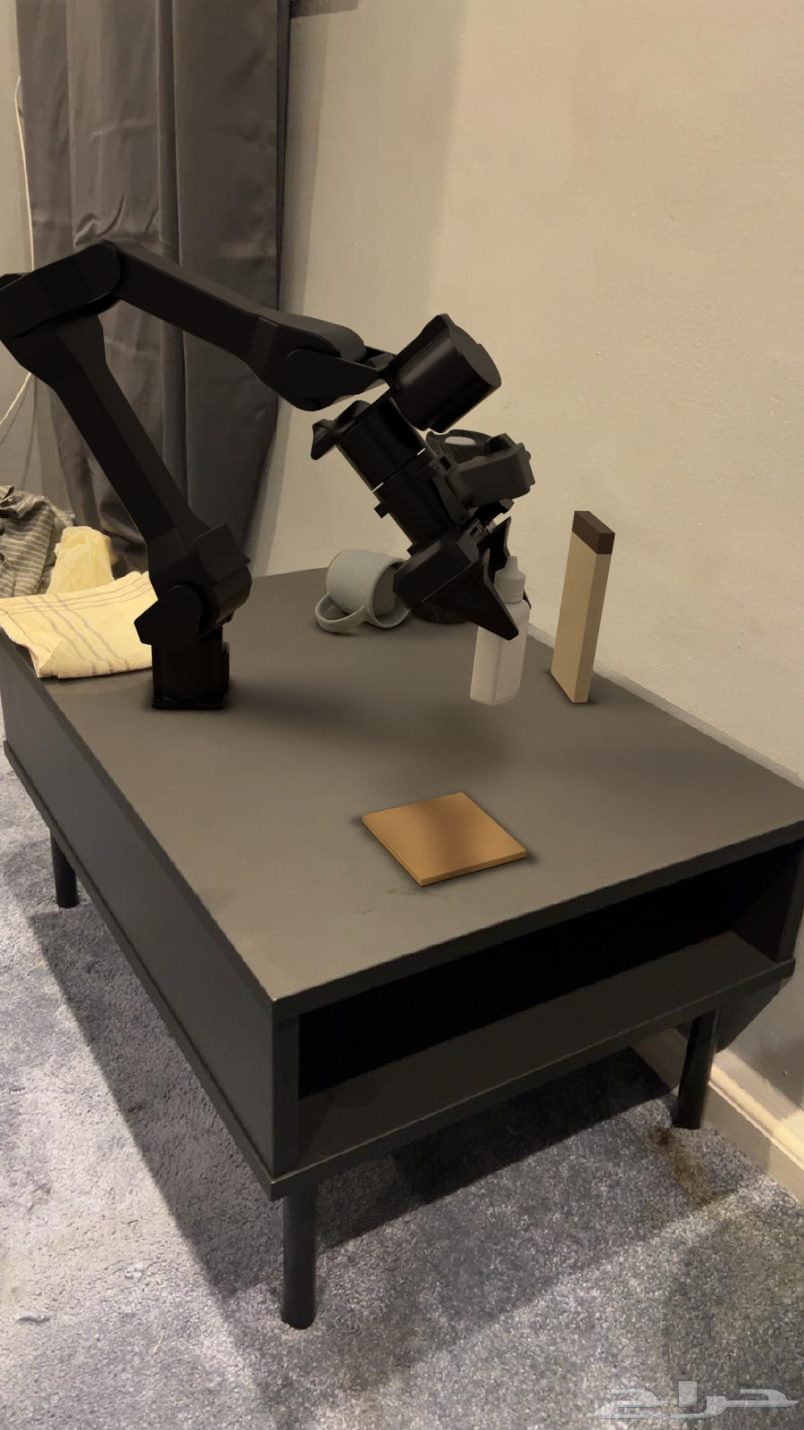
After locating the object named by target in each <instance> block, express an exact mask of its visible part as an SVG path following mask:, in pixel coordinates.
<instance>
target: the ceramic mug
mask: <svg viewBox="0 0 804 1430" xmlns="http://www.w3.org/2000/svg"><path fill="white" fill-rule="evenodd" d="M406 560H407V559H405V558H401V557H397V556H391V555H388V554H383V553H378V552H375V551H371V550H366V549H363V548H348V549H344V550H342V551H340V552H339V553H337V554H336V555H335V556H334V557H333V558H332V559H331V560H330V562H329V565H328V566H327V568H326V570H325V571H326V572H325V575H324V581H323V584H324V592H325V595H324V596H323V597H322V598H321V599H319V601H318V602H317V604H316V605H315V609H314V610H315V611H314V612H315V617H316V620H317V622H318V624H319V626H320V627H321V628H322V629H323V630H325V631H327V632H331V633H342V632H347V631H351V630H352V629H354V628H356V627H358V626H359V625H361V624H362V623H364V622H367V623H369V624H371V625H374V626H375V627H378V628H382V629H390V628H393V627H396V626H397V625H399V624H400V623H401V622H403V621H404V620H405V618H406V617H407V616H408V615H409V613H410V611H411V609H409V610H407V608H406V607H405V606H404V605H403V603H402V602H401V601H400V600H399V598H398V597H397V596H396V595H395V593H394V592H393V591H392V590H393V577H394V573H395V572H396V571H397V570H398V569H399V568H400V567H401V566H402V565H403V563H404V562H405V561H406ZM332 606H333V607H334V608H336V609H337V610H339V611H341V612H343V613H345V614H348V615H347V616H345V617H343V618H340V619H333V620H332V619H331V620H329V619H326V617H324V616H323V615H324V614H325V612H326V611H327V610H328V609H329V608H330V607H332Z"/></svg>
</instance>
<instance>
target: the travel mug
mask: <svg viewBox="0 0 804 1430" xmlns="http://www.w3.org/2000/svg"><path fill="white" fill-rule="evenodd" d="M491 437H493V435H489V434H487V433H484V432H480V431H476V430H471V429H470V430H469V429H462V428H460V429H459V428H452V429H450V430H448V432H445V433H440V434H438V433H435V432H434V431H433V430H429V431H427V433H426V434H425V439H424V440H425V441H426V442H427V444H428V446H427V447H429V446H430V448H431V449H432V450H433V452H434V453H435V454H436V455H437V456H438V455H439V454H440V453H442V452H444V453H445V454H447V453H448V454H450V455H451V456H452V458H453V459H454V460H455V462H456V463H457V464H461V463H464V462H467V461H470V460H472V459H474V458H475V457H477V456H479V457H481V456H483V451H484V444H485V442H486V441H487V440H488V439H489V438H491ZM427 447H425V448H424V450H425V449H426V448H427ZM412 611H413V613H414V614H415V615H416V616H418V617H419V618H421V619H424V620H426V621H429V622H434V623H440V624H441V623H443V624H458V623H463V622H468V620H466V619H464V618H462V617H459V616H457V615H455V614H453V613H450V612H448V611H446V610H444V609H441V608H439V607H437V606H434V605H432V604H429V605H426V604H424V603H423V602H422V601H421V602H420V603H418V604H417V605H416V606H414V607H413V608H412Z"/></svg>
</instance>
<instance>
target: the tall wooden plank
mask: <svg viewBox="0 0 804 1430" xmlns="http://www.w3.org/2000/svg"><path fill="white" fill-rule="evenodd" d="M572 518H573V519H572V524H571V525H572V526H571V531H570V532H571V533H570V538H569V546H568V552H567V559H566V565H565V572H564V580H563V587H562V593H561V600H560V606H559V615H558V621H557V628H556V635H555V640H554V648H553V654H552V660H551V661H552V662H551V667H550V673H551V675H552V676H553V678H554V679H555V680H556V682H557V683H558V684H559V686H560V688H562V690H563V691H564V692H565V694H566V695H567V698H568V699H570V701H571V703H573V704H575V703H578V704H579V703H580V704H581V703H588V699H589V695H590V688H591V683H592V677H593V670H594V665H595V664H594V663H595V657H596V652H597V645H598V641H599V634H600V628H601V623H602V618H603V617H602V615H603V611H604V604H605V598H606V593H607V592H606V591H607V586H608V580H609V574H610V568H611V563H612V555H613V551H614V550H613V549H614V545H615V538H616V532H615V531H614V530H612V528H610V527H609V526H608V525H606V524H605V522H603V521H602V520H601V519H599V518H598V517H597V516H596V515H595V514H593V512H591V511H590V510H574V511H573V517H572Z"/></svg>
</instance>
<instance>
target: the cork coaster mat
mask: <svg viewBox="0 0 804 1430" xmlns="http://www.w3.org/2000/svg"><path fill="white" fill-rule="evenodd" d="M362 823H363V824H364V826H365V827H367V829H368V830H369V831H370V832H371V833H372V834H373V835H374V836H375V838H377V840H378V841H379V842H380V843H381V844H382V845H383V847H385V848H386V849H387V851H388V852H389V853H390V854H391V855H392V856H393V858H395V859H396V860H397V861H398V863H399V864H400V865H401V866H402V867H403V868H404V869H405V870H406V871H407V872H408V874H409V875H410V876H411V877H412V879H414V880H415V882H417V884H418V885H419V886H420V887H425V886H427V885H430V884H434V883H435V884H436V883H438V882H441V881H445V880H449V879H452V878H456V877H459V876H464V875H467V874H469V873H473V872H477V871H481V870H484V869H489V868H491V867H495V866H498V865H502V864H507V863H509V862H513V861H516V860H521V859H524V858H527V853H528V850H527V849H526V848H525V847H524V846H523V845H522V844H520V843H519V842H518V840H516V838H514V837H513V836H511V834H509V833H508V832H507V831H506V830H505V829H504V828H503V827H501V825H499V824H498V823H497V822H496V821H495V820H494V819H493V818H492V817H491V816H489V814H488V813H487V812H485V811H484V810H483V809H482V808H480V807H479V805H477V804H476V803H475V802H474V801H473V800H472V799H471V798H470V797H468V795H466V794H465V793H464V792H463V791H460V792H457V793H456V792H455V793H452V794H448V795H444V796H439V797H435V798H432V799H427V800H422V801H419V802H414V803H410V804H405V805H401V806H397V807H393V808H389V809H385V810H380V811H377V812H371V813H368V814H367V813H366V814H363V815H362Z"/></svg>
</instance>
